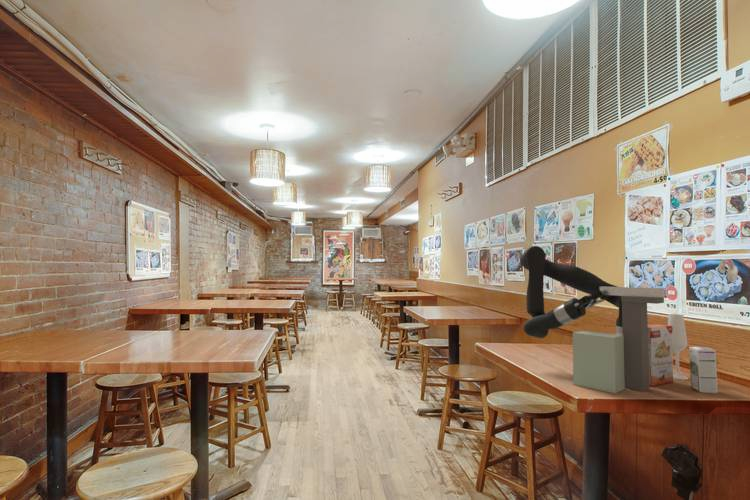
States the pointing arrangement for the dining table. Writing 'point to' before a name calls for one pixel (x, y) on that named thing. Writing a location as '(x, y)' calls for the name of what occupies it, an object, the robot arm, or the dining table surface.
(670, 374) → the cracker box
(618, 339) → the block
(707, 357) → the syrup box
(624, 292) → the aluminium bar
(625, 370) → the pedestal stand
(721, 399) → the dining table surface
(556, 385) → the dining table surface
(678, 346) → the champagne flute
